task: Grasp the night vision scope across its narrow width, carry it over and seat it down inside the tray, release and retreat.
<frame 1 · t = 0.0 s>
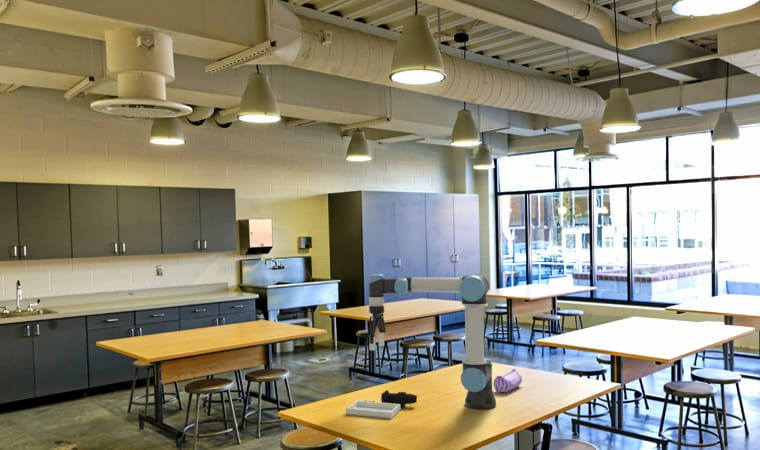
hand: (377, 347, 299), 28 cm above the table, fingers open, 13 cm apart
tray: (373, 412, 284), on the table
pencil case: (508, 390, 326), on the table
night vision scope: (398, 406, 294), on the table
lens cap: (369, 405, 298), on the table
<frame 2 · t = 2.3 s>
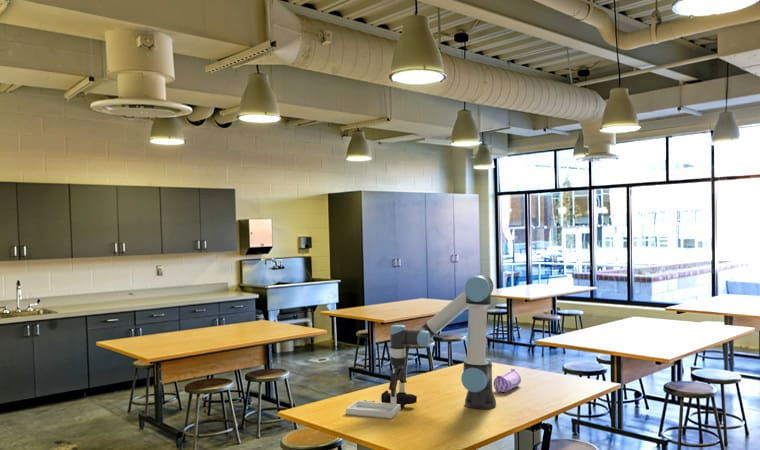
hand: (397, 399, 294), 3 cm above the table, fingers open, 13 cm apart
nothing on the table moved.
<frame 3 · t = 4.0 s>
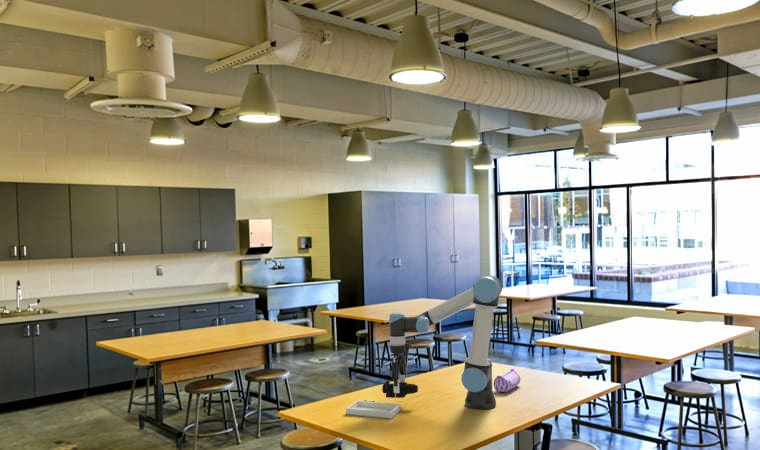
hand: (399, 390, 294), 8 cm above the table, fingers closed on night vision scope, 9 cm apart
night vision scope: (399, 397, 294), point 5 cm above the table, touching gripper
everything else where it was.
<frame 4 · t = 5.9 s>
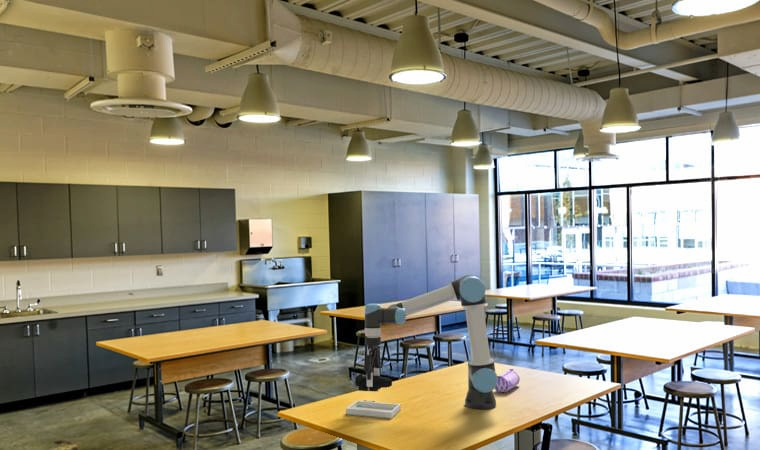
hand: (373, 384, 284), 13 cm above the table, fingers closed on night vision scope, 9 cm apart
night vision scope: (373, 390, 284), point 10 cm above the table, touching gripper
everything else where it was.
when the fingers open (4 cm above the table, at t = 8.0 s): night vision scope stays where it is, resting on tray.
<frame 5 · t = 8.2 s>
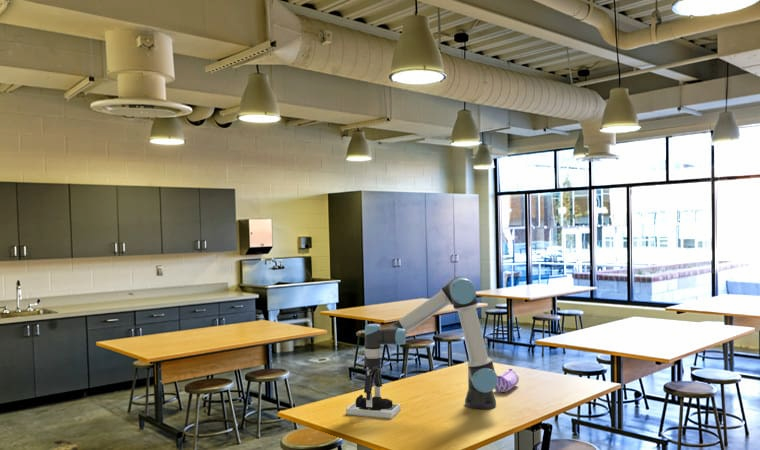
hand: (373, 403, 284), 4 cm above the table, fingers open, 11 cm apart
night vision scope: (373, 412, 283), resting on tray
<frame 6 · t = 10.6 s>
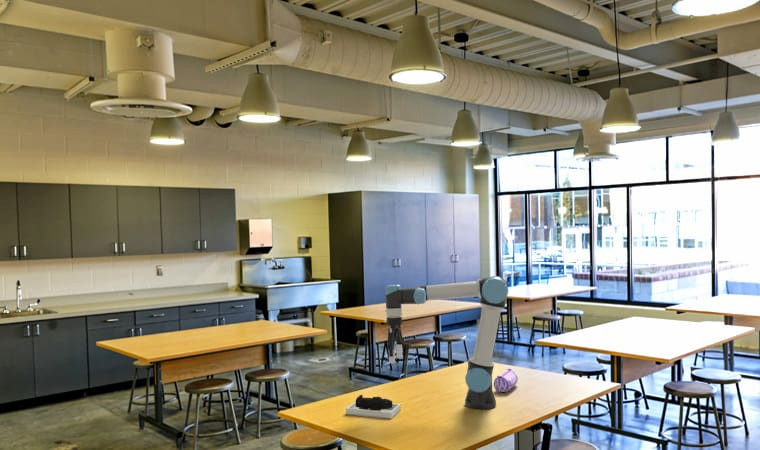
hand: (395, 360, 291), 23 cm above the table, fingers open, 13 cm apart
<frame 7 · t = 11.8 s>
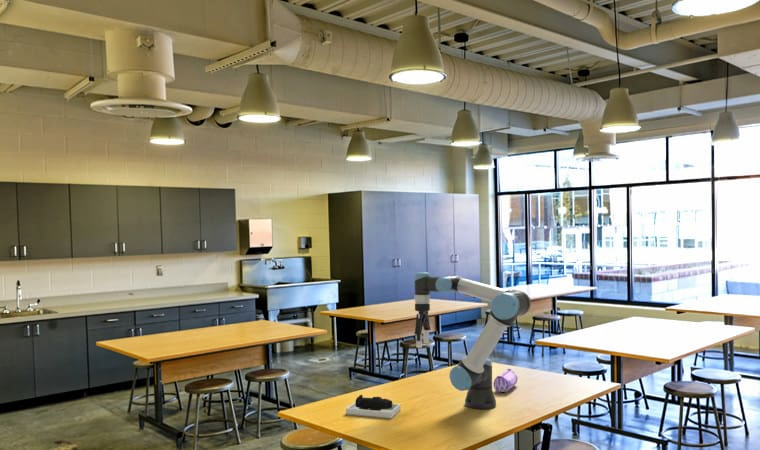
hand: (422, 345, 301), 29 cm above the table, fingers open, 13 cm apart
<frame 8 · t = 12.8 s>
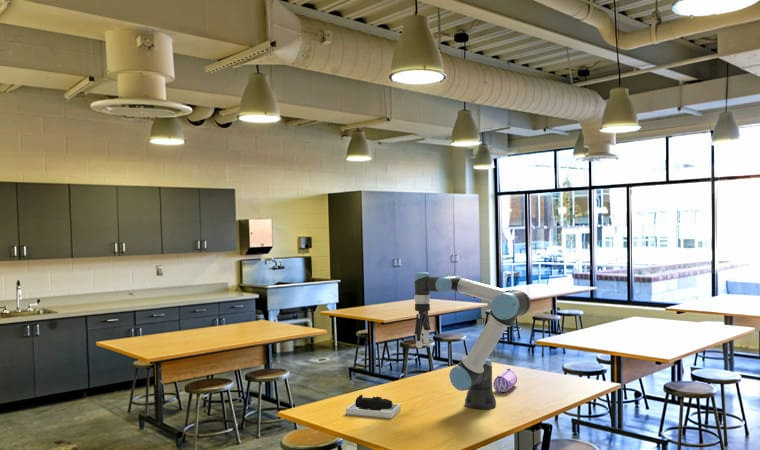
hand: (422, 345, 301), 29 cm above the table, fingers open, 13 cm apart
at the end: night vision scope inside the target area on the tray (0.6 cm from its centre), point 0.4 cm above the tray's base; the gripper is holding nothing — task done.
